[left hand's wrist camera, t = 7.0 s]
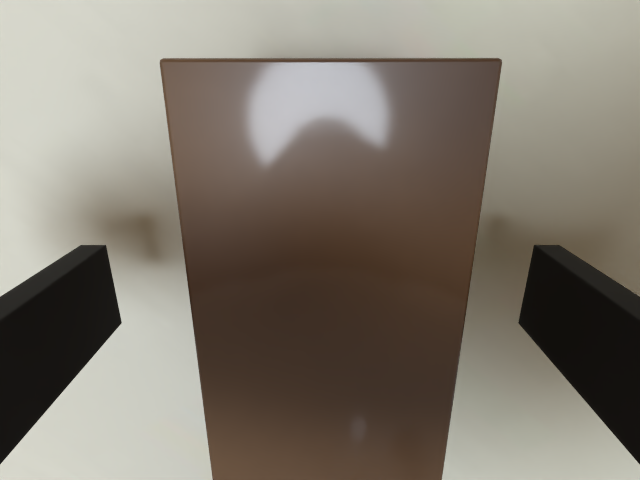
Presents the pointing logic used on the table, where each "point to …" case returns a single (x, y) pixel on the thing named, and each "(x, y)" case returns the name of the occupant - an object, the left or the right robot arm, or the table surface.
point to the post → (329, 254)
